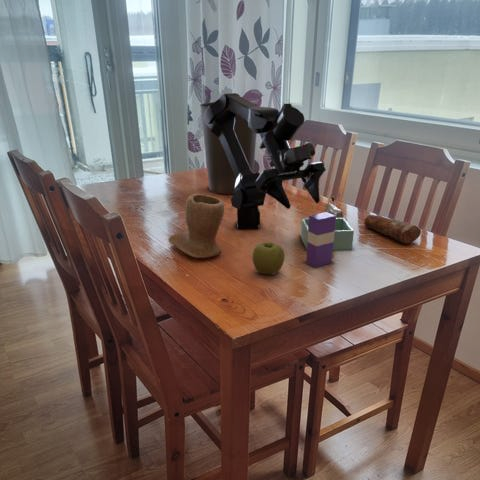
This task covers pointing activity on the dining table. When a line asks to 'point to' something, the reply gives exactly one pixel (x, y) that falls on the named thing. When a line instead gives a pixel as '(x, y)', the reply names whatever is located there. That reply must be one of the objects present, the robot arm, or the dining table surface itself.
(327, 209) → the cuneiform tablet
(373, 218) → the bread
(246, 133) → the waste basket
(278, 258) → the apple
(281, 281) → the dining table surface
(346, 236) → the bin
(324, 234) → the purple tall block
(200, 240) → the stone cup
